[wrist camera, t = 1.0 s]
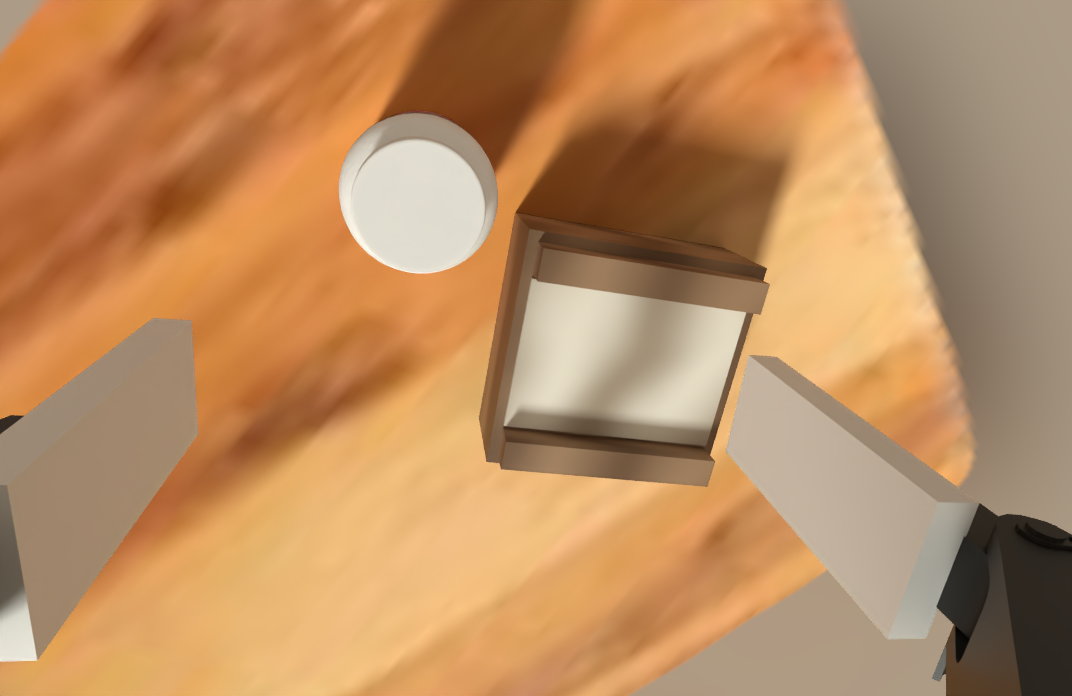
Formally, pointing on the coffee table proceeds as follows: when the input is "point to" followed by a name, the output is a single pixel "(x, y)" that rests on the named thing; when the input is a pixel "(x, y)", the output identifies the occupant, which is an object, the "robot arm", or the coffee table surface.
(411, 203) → the pill bottle
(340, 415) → the coffee table surface
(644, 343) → the brown square open box
